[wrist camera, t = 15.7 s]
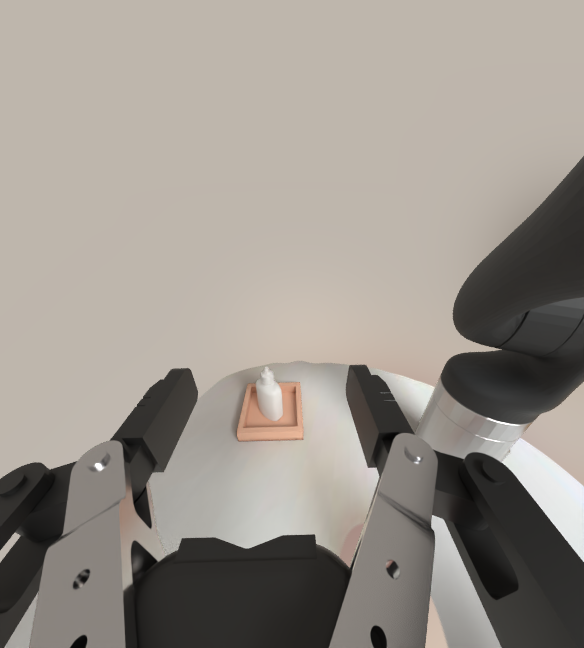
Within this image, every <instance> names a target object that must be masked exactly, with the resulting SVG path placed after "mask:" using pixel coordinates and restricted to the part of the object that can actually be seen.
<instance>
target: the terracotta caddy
mask: <svg viewBox="0 0 584 648" xmlns="http://www.w3.org/2000/svg"><path fill="white" fill-rule="evenodd" d="M278 384H279V386H280V388H281V391H282V405H283V416H282V417H281V418H280V419H279V420H278V421H272V420H269V419H268V418H266V417H265V416H264V415H263V414H262V413H261V411H260V409H259V405H258V398H257V390H256V383H249V384H248V385H247V389H246V394H245V398H244V402H243V407H242V411H241V416H240V420H239V424H238V429H237V437H238V441H273V440H303V418H302V403H301V389H300V382H291V383H278Z"/></svg>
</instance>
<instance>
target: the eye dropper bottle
mask: <svg viewBox="0 0 584 648" xmlns="http://www.w3.org/2000/svg"><path fill="white" fill-rule="evenodd" d="M260 375H261V378H260V379H258V380H257V381H256V390H257V398H258V405H259V409H260V411H261V413H262V414H263V415H264V416H265V417H266V418H268V419H269V420H272V421H278V420H279V419H280V418H281V417H282V416H283V405H282V391H281V388H280V386H279V384H278V383H277V382H276V381H275V380H274V372H273V371H272V370H271V369H269V367H268V366H265V368H264V370H263V371H262V372H261V374H260Z"/></svg>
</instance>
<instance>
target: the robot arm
mask: <svg viewBox="0 0 584 648" xmlns="http://www.w3.org/2000/svg"><path fill="white" fill-rule="evenodd" d="M453 321H454V325H455V327H456V329H457V330H458V332H459V333H460V334H461V335H462V336H464V337H465V338H466V339H468V340H471V341H473V342H476V343H479V344H482V345H485V346H489V347H495V348H498V349H502V350H498V351H490V352H469V353H461V354H458V355H455V356H453V357H451V358H450V359H449V360H448V361H447V363H446V365H445V367H444V369H443V371H442V373H441V376H440V378H439V380H438V382H437V384H436V387H435V389H434V391H433V393H432V396H431V398H430V400H429V402H428V405H427V407H426V409H425V411H424V414H423V416H422V418H421V420H420V422H419V425H418V427H417V429H416V431H415V433H414V432H413V431H412V429H411V427H410V425H409V423H408V422H407V420H406V418H405V416H404V415H403V413H402V411H401V409H400V407H399V406H398V404H397V402H396V401H395V398H394V397H393V395H392V394H391V391H390V389H389V388H388V386H387V384H386V382H384V381H383V380H382V379H381V378H380V377H379V376H378V375H371V374H370V372H369V370H368V368H367V366H366V365H350V366H349V371H348V377H347V384H346V396H347V401H348V404H349V407H350V410H351V414H352V417H353V420H354V423H355V427H356V430H357V433H358V436H359V440H360V443H361V446H362V449H363V453H364V456H365V459H366V462H367V466H368V468H376V467H377V470H378V473H379V476H380V477H379V480H378V483H377V486H376V489H375V492H374V495H373V498H372V501H371V504H370V508H369V511H368V514H367V517H366V520H365V523H364V526H363V529H362V532H361V535H360V538H359V540H358V544H357V546H356V549H355V553H354V556H353V559H352V562H351V565H350V568H349V567H348V566H347V565H346V563H344V562H343V561H342V560H341V559H340V558H339V557H338V556H337V555H336V554H334V553H333V552H332V551H330V550H328V549H326V548H325V547H323V546H320V545H317V544H316V540H315V535H283V536H280V537H277V538H275V539H272V540H270V541H267V542H265V543H262V544H260V545H257V546H255V547H252V548H249V549H245V548H242V547H239V546H236V545H234V544H231V543H228V542H226V541H223V540H220V539H217V538H182V540H181V543H180V546H179V549H178V550H177V551H175V552H173V553H171V554H169V555H168V556H166V557H165V552H164V549H163V545H162V543H161V540H160V538H159V535H158V532H157V528H156V521H155V515H154V509H153V503H152V497H151V490H150V485H149V482H148V480H149V478H150V476H151V474H152V472H164V470H165V468H166V466H167V464H168V462H169V460H170V457H171V455H172V453H173V451H174V449H175V447H176V445H177V442H178V440H179V438H180V436H181V434H182V432H183V430H184V428H185V425H186V423H187V421H188V419H189V417H190V415H191V413H192V410H193V408H194V406H195V404H196V402H197V397H198V390H197V387H196V384H195V381H194V378H193V375H192V372H191V370H190V369H189V368H183V369H182V368H181V369H172V370H171V371H170V372H169V373H168V375H167V376H166V377H165V379H164V380H159V381H158V382H157V383H156V384H154V385H153V386H152V387H150V389H149V390H148V391H147V393H146V394H145V395H144V396H143V399H142V400H141V401H140V402H139V403H138V404H137V407H135V408H134V410H133V411H132V412H131V414H130V415H129V416H128V417H127V419H126V420H125V422H124V423H123V424H122V426H121V427H120V428H119V429H118V431H117V432H116V433H115V434H114V436H113V437H112V438H111V440H110V441H106V442H103V443H101V444H99V445H97V446H95V447H93V448H92V449H90V450H89V451H87V452H86V453H85V454H84V455H83V456H82V457H81V458H80V459H79V460H78V461H76V462H73V463H70V464H67V465H63V466H60V467H57V468H54V469H51V470H49V469H48V468H47V467H46V466H45V465H43V464H42V463H30V464H27V465H24V466H21V467H19V468H17V469H16V470H14V471H12V472H10V473H8V474H7V475H5V476H4V477H3V478H1V479H0V550H1V549H2V548H3V546H4V545H5V544H6V543H7V541H8V540H9V539H10V538H11V536H12V535H13V534H14V533H15V532H16V533H17V534H19V535H21V536H20V538H19V539H18V541H17V542H16V543H15V544H14V546H13V547H12V548H11V549H10V551H9V552H8V553H7V555H6V556H5V557H4V559H3V560H2V561H1V563H0V648H4V647H5V645H6V643H7V642H8V640H9V639H10V637H11V635H12V634H13V632H14V630H15V629H16V627H17V625H18V624H19V622H20V621H21V619H22V617H23V616H24V614H25V612H26V611H27V609H28V607H29V606H30V604H31V603H32V601H33V599H34V598H35V596H36V594H37V593H38V591H39V593H38V599H37V605H36V610H35V616H34V622H33V628H32V633H31V639H30V645H29V648H425V643H426V632H427V622H428V611H429V601H430V591H431V581H432V570H433V560H434V550H435V534H434V531H433V530H432V528H431V518H432V515H434V516H437V517H440V518H442V519H444V521H445V523H446V525H447V527H448V530H449V532H450V534H451V536H452V538H453V541H454V543H455V545H456V547H457V549H458V552H459V554H460V556H461V558H462V561H463V563H464V565H465V567H466V569H467V572H468V574H469V576H470V578H471V580H472V583H473V585H474V587H475V589H476V591H477V594H478V596H479V598H480V600H481V603H482V605H483V607H484V609H485V611H486V614H487V616H488V618H489V620H490V622H491V625H492V627H493V629H494V631H495V633H496V636H497V638H498V640H499V642H500V645H501V647H502V648H584V562H583V561H582V560H581V559H580V557H579V556H578V555H577V553H576V552H575V551H574V550H573V548H572V547H571V546H570V545H569V543H568V542H567V541H566V540H565V538H564V537H563V536H562V534H561V533H560V532H559V531H558V529H557V528H556V527H555V526H554V524H553V523H552V522H551V521H550V519H549V518H548V517H547V516H546V514H545V513H544V512H543V510H542V509H541V508H540V507H539V505H538V504H537V503H536V502H535V500H534V499H533V498H532V497H531V495H530V494H529V493H528V491H527V490H526V489H525V488H524V486H523V485H522V484H521V483H520V481H519V480H518V479H517V478H516V476H515V475H514V474H513V473H512V472H511V471H510V470H509V469H508V468H507V467H506V466H505V465H504V464H503V463H501V462H502V461H503V460H504V459H505V458H506V456H507V455H508V454H509V453H510V448H511V447H512V446H513V445H514V444H515V442H516V441H517V440H518V439H519V438H520V436H521V435H522V434H523V433H524V432H525V431H526V430H527V428H528V427H529V426H530V425H531V424H532V422H533V421H534V420H535V419H536V418H537V417H538V416H539V415H540V414H541V413H544V412H547V411H550V410H552V409H554V408H555V407H557V406H558V405H559V404H561V403H562V402H563V401H564V400H565V399H566V398H567V397H568V396H569V395H570V394H571V393H572V392H573V391H574V390H575V389H576V388H577V387H578V386H579V385H580V384H581V383H582V382H584V156H583V158H582V159H581V160H580V161H579V162H578V163H577V165H576V166H575V167H574V168H573V169H572V170H571V172H570V173H569V174H568V175H567V176H566V177H565V178H564V179H563V181H562V182H561V183H560V184H559V185H558V186H557V188H556V189H555V190H554V191H553V192H552V193H551V194H550V195H549V196H548V197H547V198H546V200H545V201H544V202H543V203H542V204H541V205H540V206H539V207H538V208H537V209H536V210H535V211H534V212H533V213H532V214H531V215H530V216H529V217H528V218H527V219H526V220H525V221H524V222H523V223H522V224H521V225H520V226H519V227H518V228H517V229H515V230H514V232H512V233H511V234H510V235H509V236H508V237H507V238H506V239H505V240H504V241H503V242H502V243H501V244H500V245H499V246H497V247H496V248H495V249H494V250H493V251H492V252H491V253H490V254H489V255H488V256H487V257H486V258H485V259H484V260H483V261H482V262H481V263H480V264H479V265H478V266H477V267H476V268H475V269H474V271H473V272H472V273H471V274H470V275H469V277H468V278H467V280H466V281H465V283H464V284H463V286H462V288H461V289H460V291H459V293H458V295H457V298H456V300H455V303H454V308H453Z"/></svg>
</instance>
